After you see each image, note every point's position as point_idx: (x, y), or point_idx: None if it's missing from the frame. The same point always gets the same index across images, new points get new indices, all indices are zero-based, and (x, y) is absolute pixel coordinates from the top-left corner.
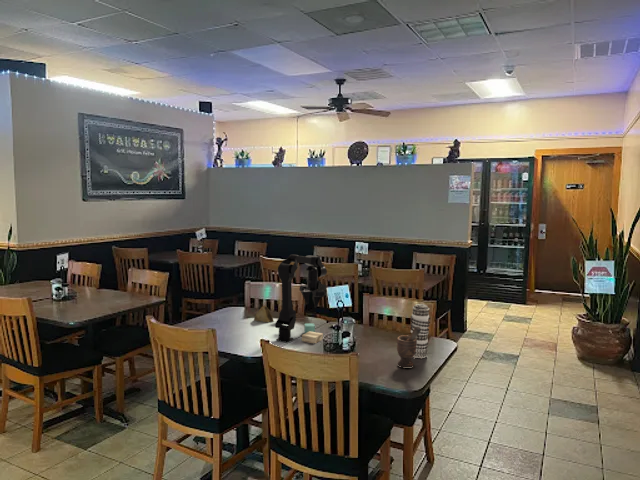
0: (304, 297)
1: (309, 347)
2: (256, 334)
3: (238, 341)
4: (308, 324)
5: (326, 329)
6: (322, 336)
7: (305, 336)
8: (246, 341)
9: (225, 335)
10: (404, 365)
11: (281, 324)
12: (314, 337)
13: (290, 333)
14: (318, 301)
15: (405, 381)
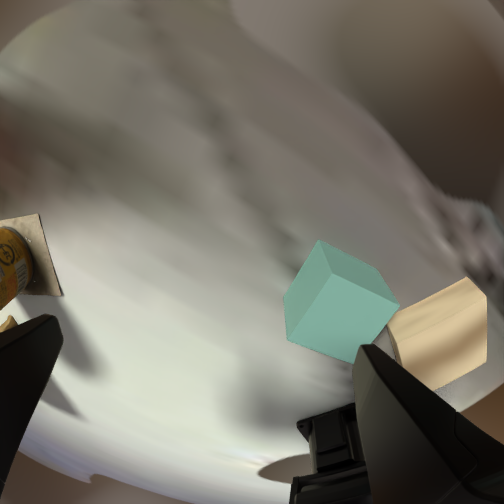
0: (15, 453)
1: (474, 378)
2: (196, 459)
3: (247, 498)
4: (328, 326)
5: (311, 94)
6: (477, 291)
7: (430, 388)
8: (260, 491)
9: (171, 494)
10: None
11: (299, 484)
12: (480, 364)
13: (343, 428)
14: (459, 434)
15: None
